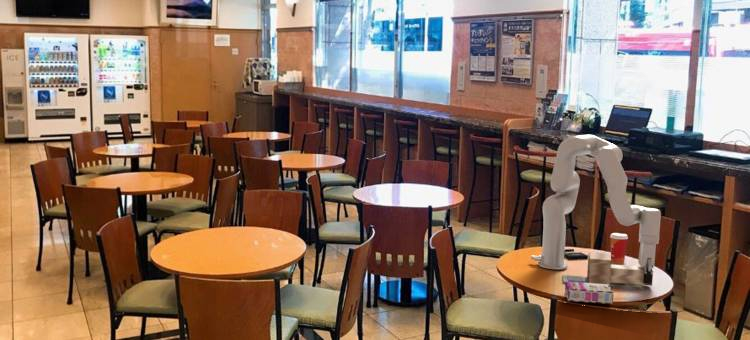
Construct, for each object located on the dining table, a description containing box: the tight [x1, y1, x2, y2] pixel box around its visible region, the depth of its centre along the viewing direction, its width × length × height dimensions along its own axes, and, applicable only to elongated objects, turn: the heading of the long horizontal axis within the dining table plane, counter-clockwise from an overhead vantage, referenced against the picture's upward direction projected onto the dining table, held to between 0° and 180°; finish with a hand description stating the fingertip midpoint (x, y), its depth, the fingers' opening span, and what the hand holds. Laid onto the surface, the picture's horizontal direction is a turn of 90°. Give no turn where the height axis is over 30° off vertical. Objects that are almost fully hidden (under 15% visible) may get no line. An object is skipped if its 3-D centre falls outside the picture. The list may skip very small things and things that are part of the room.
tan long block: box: [562, 251, 644, 291], centre depth 292 cm, size 31×12×12 cm, turn 77°
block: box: [610, 263, 654, 286], centre depth 290 cm, size 16×6×6 cm, turn 77°
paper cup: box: [609, 232, 629, 264], centre depth 324 cm, size 8×8×14 cm
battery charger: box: [564, 248, 588, 261], centre depth 331 cm, size 13×10×4 cm
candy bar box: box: [564, 282, 614, 305], centre depth 271 cm, size 11×5×16 cm
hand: (645, 280), depth 289 cm, fingers open, 9 cm apart
